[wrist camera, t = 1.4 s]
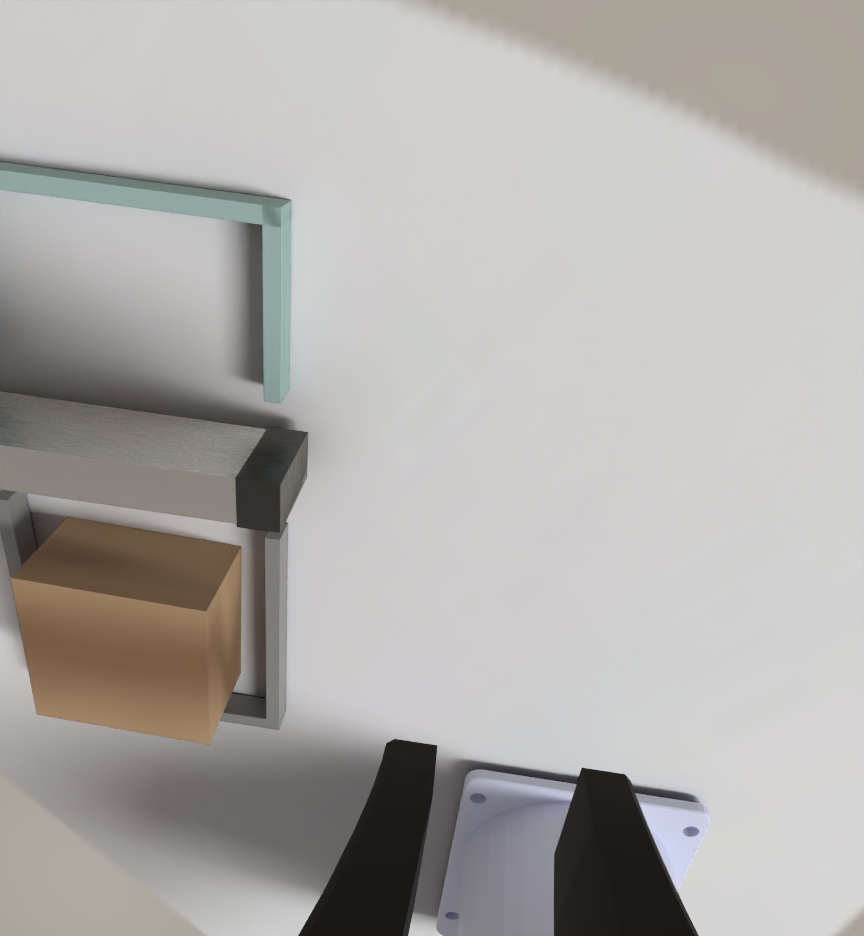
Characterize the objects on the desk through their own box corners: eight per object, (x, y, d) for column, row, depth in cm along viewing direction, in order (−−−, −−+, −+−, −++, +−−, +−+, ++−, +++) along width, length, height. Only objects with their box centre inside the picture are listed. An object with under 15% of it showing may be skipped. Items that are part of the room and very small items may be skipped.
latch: (307, 477, 19) (280, 532, 17) (-36, 428, 19) (-106, 476, 17) (307, 432, 18) (280, 485, 16) (-47, 382, 19) (-121, 426, 16)
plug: (242, 667, 24) (208, 744, 21) (89, 641, 24) (36, 714, 21) (244, 542, 21) (206, 611, 18) (72, 512, 21) (10, 577, 19)
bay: (289, 390, 18) (280, 403, 18) (-19, 346, 18) (-40, 358, 18) (291, 200, 16) (281, 207, 15) (-60, 153, 16) (-86, 158, 16)
